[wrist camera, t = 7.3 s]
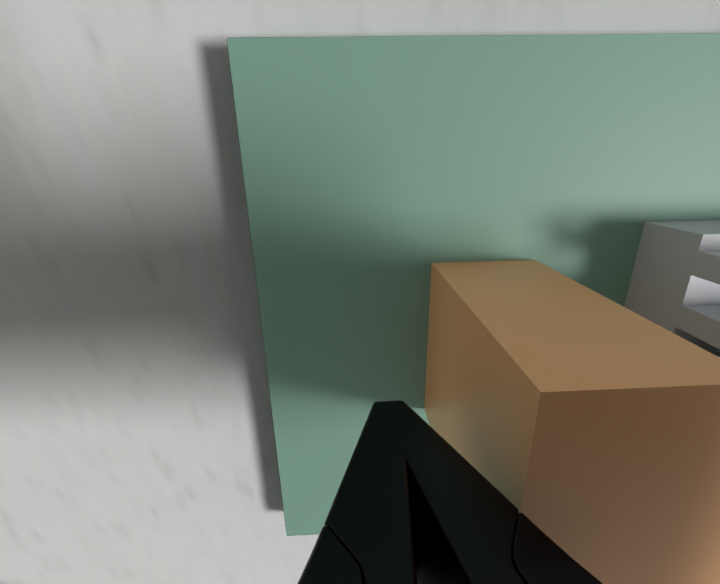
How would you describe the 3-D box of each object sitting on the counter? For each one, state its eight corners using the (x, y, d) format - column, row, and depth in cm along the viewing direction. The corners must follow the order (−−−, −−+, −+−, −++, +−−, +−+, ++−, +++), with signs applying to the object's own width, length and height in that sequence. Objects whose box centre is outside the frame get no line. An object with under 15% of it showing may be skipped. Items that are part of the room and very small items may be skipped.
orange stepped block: (652, 256, 11) (1017, 371, 5) (615, 400, 12) (853, 612, 7) (431, 262, 11) (541, 392, 5) (424, 408, 12) (498, 635, 6)
